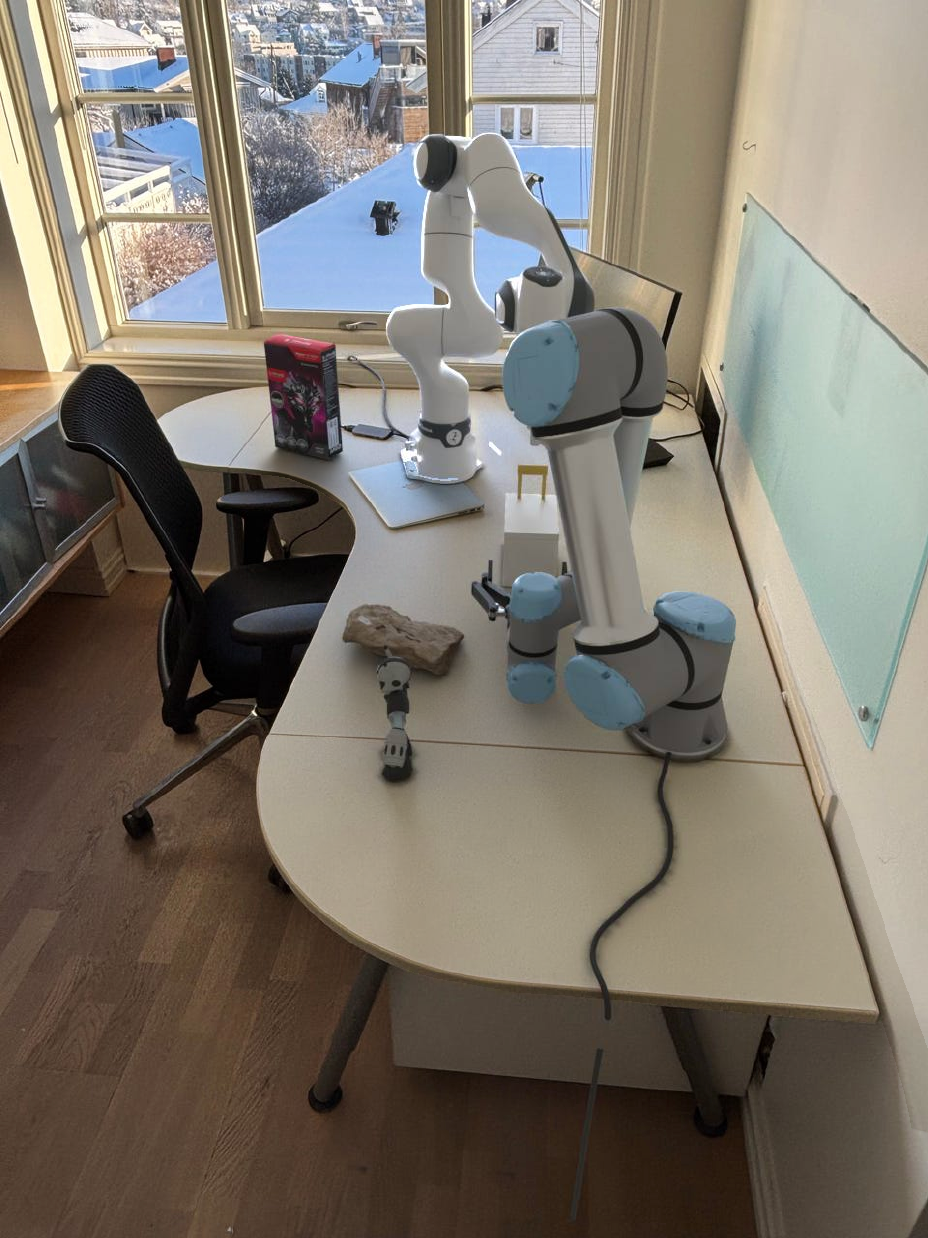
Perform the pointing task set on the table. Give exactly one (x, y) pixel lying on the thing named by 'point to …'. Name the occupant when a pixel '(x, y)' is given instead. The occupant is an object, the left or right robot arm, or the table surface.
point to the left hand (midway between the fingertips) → (534, 434)
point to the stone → (402, 637)
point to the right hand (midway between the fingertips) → (527, 567)
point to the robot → (396, 716)
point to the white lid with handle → (531, 509)
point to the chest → (528, 558)
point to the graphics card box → (304, 395)
